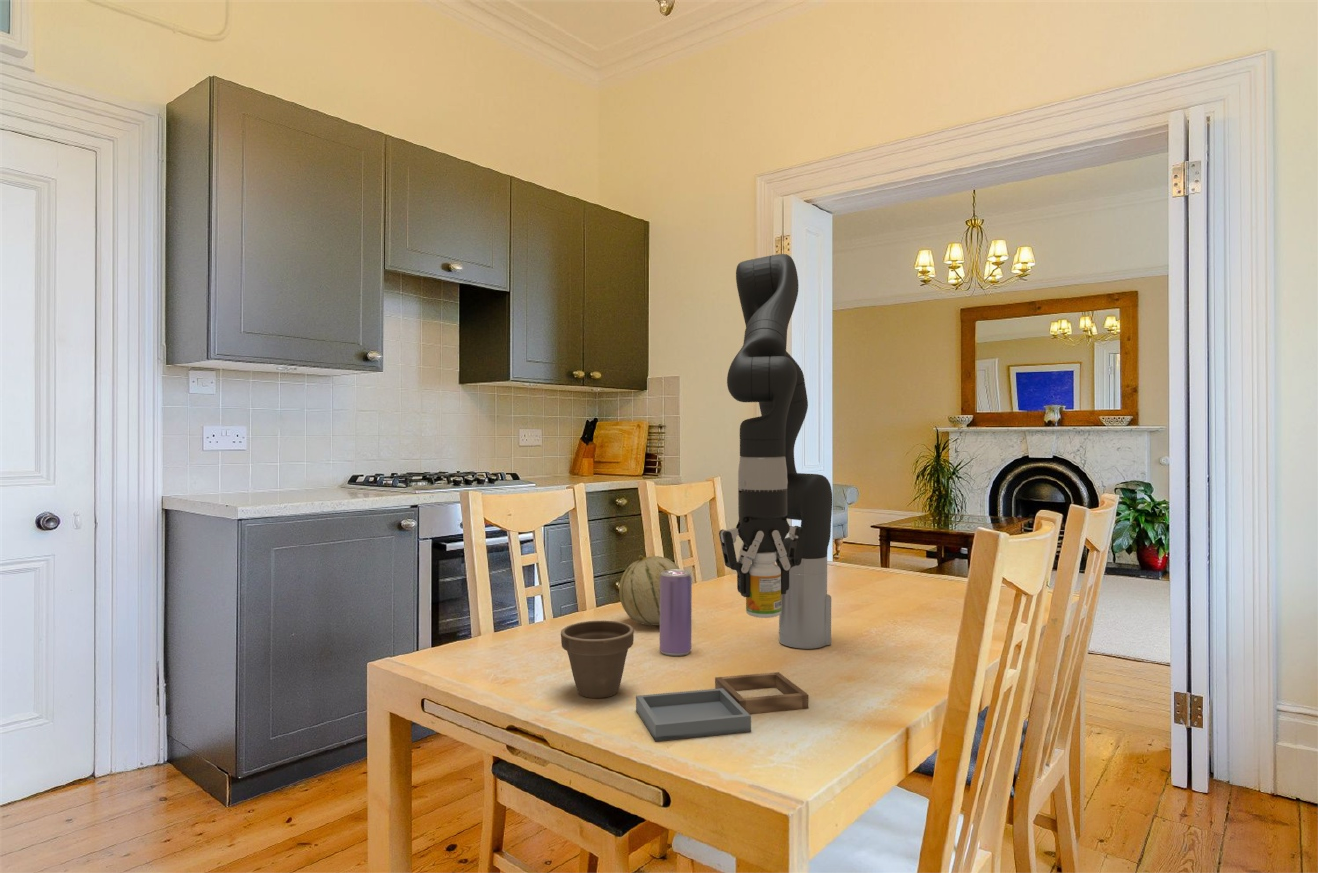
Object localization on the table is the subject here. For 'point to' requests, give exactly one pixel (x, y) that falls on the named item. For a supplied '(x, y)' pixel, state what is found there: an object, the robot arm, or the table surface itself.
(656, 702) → the tray
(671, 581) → the beverage can
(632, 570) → the cantaloupe
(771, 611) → the supplement bottle
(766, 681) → the brown wooden square frame
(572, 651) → the flower pot
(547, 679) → the table surface
